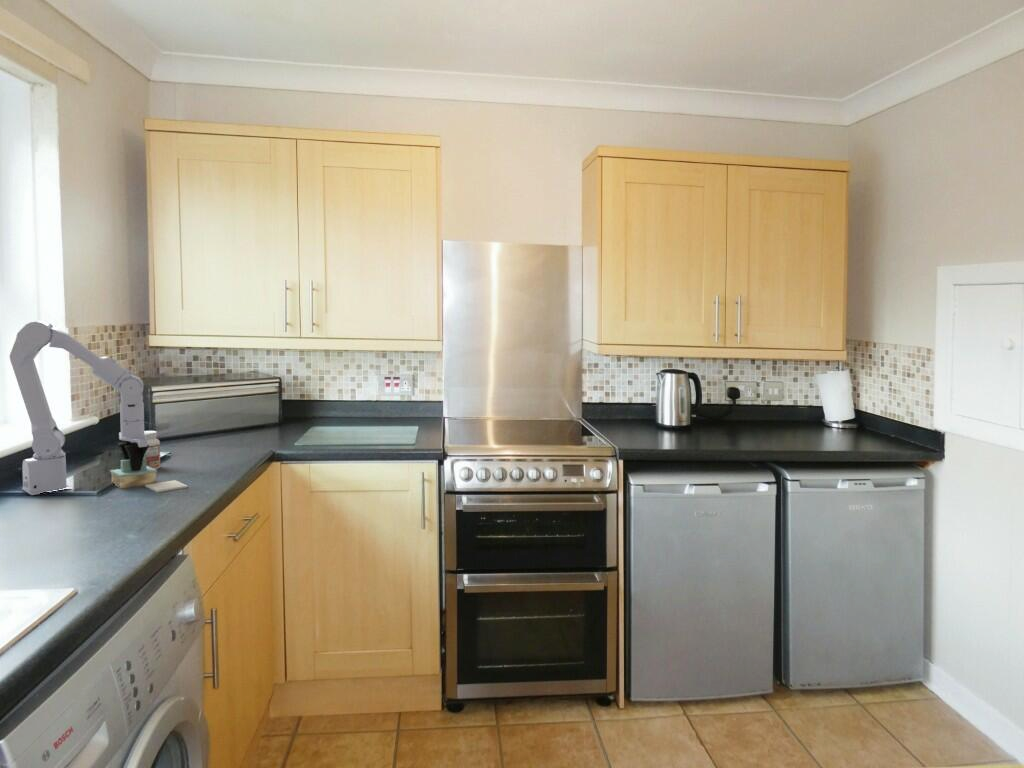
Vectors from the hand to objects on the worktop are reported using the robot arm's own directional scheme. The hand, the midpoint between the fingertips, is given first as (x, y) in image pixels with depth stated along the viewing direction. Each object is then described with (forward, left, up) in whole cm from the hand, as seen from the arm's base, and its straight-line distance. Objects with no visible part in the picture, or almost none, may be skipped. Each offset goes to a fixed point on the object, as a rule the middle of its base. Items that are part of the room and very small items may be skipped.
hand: (133, 469), depth 202 cm
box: (0, 0, -4) cm, 4 cm away
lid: (0, 0, -1) cm, 1 cm away
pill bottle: (+10, +16, -4) cm, 19 cm away
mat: (+5, -9, -4) cm, 11 cm away
